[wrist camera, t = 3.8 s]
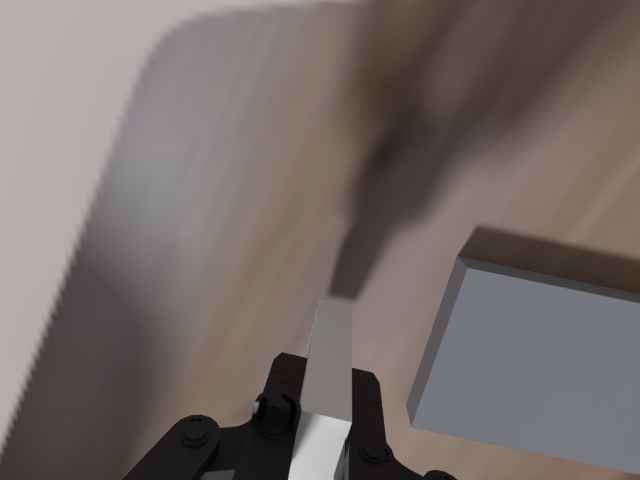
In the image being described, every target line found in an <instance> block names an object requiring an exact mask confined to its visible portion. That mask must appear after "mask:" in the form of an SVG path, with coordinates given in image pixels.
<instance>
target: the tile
mask: <svg viewBox="0 0 640 480" xmlns="http://www.w3.org/2000/svg"><path fill="white" fill-rule="evenodd" d="M406 406H407V411H408V415H409V420H410V424H411V427H413V428H418V429H422V430H427V431H432V432H437V433H441V434H446V435H451V436H456V437H461V438H465V439H470V440H475V441H480V442H484V443H489V444H494V445H499V446H504V447H508V448H513V449H518V450H523V451H527V452H532V453H537V454H542V455H546V456H551V457H556V458H561V459H566V460H570V461H575V462H580V463H585V464H589V465H594V466H599V467H604V468H609V469H613V470H618V471H623V472H628V473H632V474H637V475H640V294H638V293H633V292H628V291H624V290H619V289H614V288H609V287H605V286H600V285H595V284H590V283H585V282H581V281H576V280H571V279H566V278H561V277H557V276H552V275H547V274H542V273H537V272H533V271H528V270H523V269H518V268H513V267H509V266H504V265H499V264H494V263H489V262H485V261H480V260H475V259H470V258H465V257H461V256H457V258H456V261H455V264H454V267H453V270H452V273H451V275H450V278H449V281H448V284H447V287H446V290H445V293H444V296H443V299H442V302H441V305H440V308H439V311H438V313H437V316H436V319H435V322H434V325H433V328H432V331H431V334H430V337H429V340H428V343H427V346H426V349H425V351H424V354H423V357H422V360H421V363H420V366H419V369H418V372H417V375H416V378H415V381H414V384H413V387H412V389H411V392H410V395H409V398H408V401H407V404H406Z"/></svg>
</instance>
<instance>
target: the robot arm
mask: <svg viewBox="0 0 640 480" xmlns="http://www.w3.org/2000/svg"><path fill="white" fill-rule="evenodd" d="M122 480H457V479H456V478H455V477H453V476H452V475H450V474H448V473H446V472H444V471H439V470H433V471H428V472H427V473H426V474H425V475H424V476H421V475H419V474H417V473H415V472H414V471H412V470H410V469H408V468H407V467H405V466H404V465H402V464H401V463H400V462H399V461H398V460H396V459H395V457H394V455H393V452H392V449H391V448H390V447H389V445H388V444H387V442H386V436H385V427H384V418H383V409H382V400H381V391H380V383H379V382H378V380H377V378H376V377H375V375H374V373H372V372H368V371H363V370H359V369H355V368H352V306H347V305H343V304H339V303H335V302H330V301H326V300H322V299H319V302H318V306H317V311H316V315H315V319H314V323H313V327H312V331H311V335H310V340H309V344H308V348H307V353H306V358H304V357H300V356H296V355H292V354H287V353H283V352H282V353H281V354H279V355H278V356H277V357H276V358H275V359H274V361H273V364H272V367H271V370H270V373H269V376H268V379H267V382H266V385H265V388H264V391H263V393H262V394H260V395H259V396H258V398H257V399H256V401H255V404H254V409H253V414H252V419H251V420H249V421H248V422H246V423H245V424H242V425H240V426H236V427H226V428H219V426H218V424H217V422H216V421H214V420H213V419H212V418H210V417H207V416H204V415H191V416H188V417H185V418H182V419H181V420H180V421H178V422H177V423H176V424H174V425H173V426H172V428H171V429H170V430H169V431H168V432H167V433H166V434H165V435H164V436H163V437H162V438H161V439H160V440H159V441H158V442H157V443H156V444H155V445H154V447H153V448H152V449H151V450H150V451H149V452H148V453H147V454H146V455H145V456H144V457H143V458H142V459H141V460H140V461H139V462H138V463H137V465H136V466H135V467H134V468H133V469H132V470H131V471H130V472H129V473H128V474H127V475H126V476H125V477H124V478H123V479H122Z"/></svg>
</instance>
